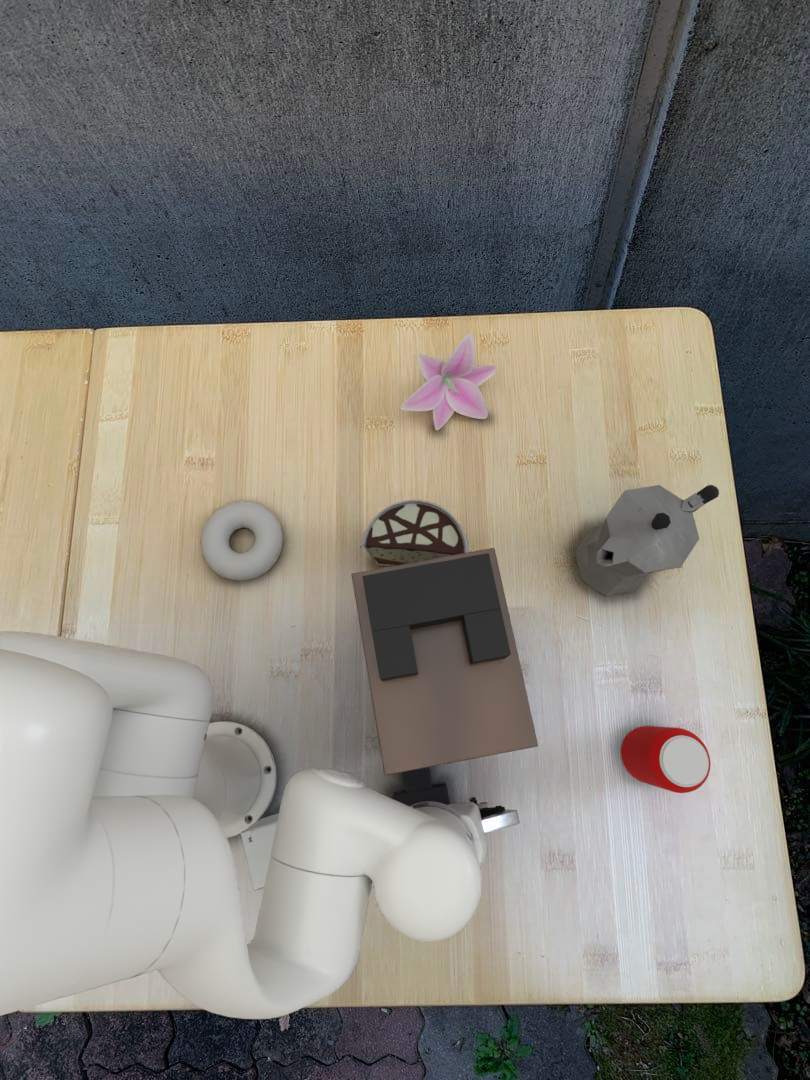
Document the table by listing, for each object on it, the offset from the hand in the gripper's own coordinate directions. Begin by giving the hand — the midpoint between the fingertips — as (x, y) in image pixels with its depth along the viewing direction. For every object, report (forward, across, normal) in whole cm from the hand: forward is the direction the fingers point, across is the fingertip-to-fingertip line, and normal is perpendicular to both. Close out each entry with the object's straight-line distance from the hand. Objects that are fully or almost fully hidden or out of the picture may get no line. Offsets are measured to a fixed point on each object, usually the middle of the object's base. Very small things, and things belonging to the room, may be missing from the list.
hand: (431, 820), depth 73 cm
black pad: (-24, +4, +18) cm, 30 cm away
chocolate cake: (+3, +4, +31) cm, 32 cm away
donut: (+2, -17, +35) cm, 39 cm away
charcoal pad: (+3, -1, +2) cm, 3 cm away
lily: (+1, +9, +55) cm, 56 cm away
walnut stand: (+3, +3, +15) cm, 16 cm away
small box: (+3, -14, +1) cm, 15 cm away
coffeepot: (+4, +28, +25) cm, 38 cm away
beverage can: (+4, +25, +2) cm, 26 cm away
